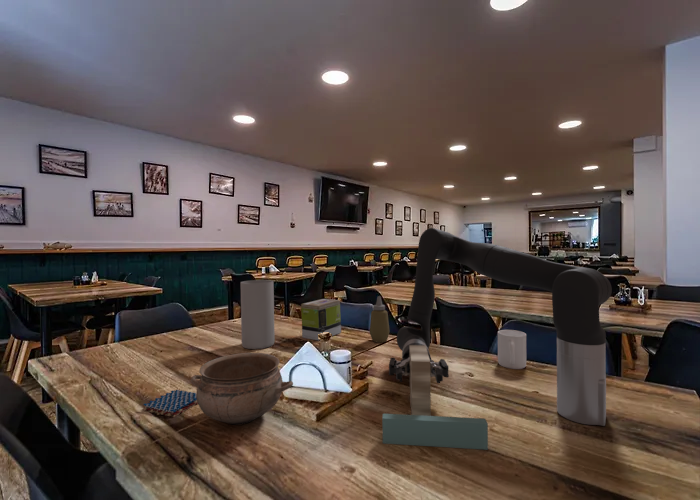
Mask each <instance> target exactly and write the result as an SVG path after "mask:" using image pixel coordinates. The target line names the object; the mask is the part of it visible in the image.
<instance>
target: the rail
mask: <svg viewBox="0 0 700 500" xmlns="http://www.w3.org/2000/svg"><path fill="white" fill-rule="evenodd" d="M381 424H382V426H381V427H382V428H381V429H382V444H389V445H405V446H421V447H422V446H424V447H436V448H437V447H438V448H451V449H452V448H453V449H455V448H456V449H469V450H470V449H471V450H487V451H488V450H489V433H488V432H489V431H488V430H489V428H488V427H489V423H488V421H487V420H486V418H481V417H478V418H477V417H460V416H459V417H457V416H439V415H431V416H423V415H411V414H399V413H382V422H381Z"/></svg>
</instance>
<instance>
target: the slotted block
mask: <svg viewBox="0 0 700 500" xmlns="http://www.w3.org/2000/svg"><path fill="white" fill-rule="evenodd" d="M409 350H410V374H409V402H410V411H411V412H410V413H411V414H410V415H423V416H432V410H431V408H432V407H431V401H432V397H431V395H432V394H431V390H432V389H431V377H430V359H429V355H428V352H427V348H426V346H424V345H409Z"/></svg>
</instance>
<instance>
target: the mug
mask: <svg viewBox="0 0 700 500" xmlns="http://www.w3.org/2000/svg"><path fill="white" fill-rule="evenodd" d="M497 363H498V364H499V365H500V366H501V367H503V368H506V369H511V370H521V369H525V367H526V366H527V333H525V332H523V331H521V330H514V329H501V330H498V331H497Z"/></svg>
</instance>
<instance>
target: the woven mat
mask: <svg viewBox="0 0 700 500" xmlns="http://www.w3.org/2000/svg"><path fill="white" fill-rule="evenodd" d="M196 393H197V392H194V391H193V392H192V391H187V390H182V389H181V390H180V389H176V390H173V389H172V390H170V392H165V395H164V394H163V395H160V397H156V398H154V400H150V401H149V402H147V403H143V406H144V407H143V409H142V410H143V412H148V413H151V414H152V413H154V414H156V415H159V416H160V415H164V416H168V417H172V418H175V417H177V416H178V415H180V414H182V413H184V412H186V411H187V410H189V409H190V408H193V407H195V406H196V405H198V403H197V396H196Z"/></svg>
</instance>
